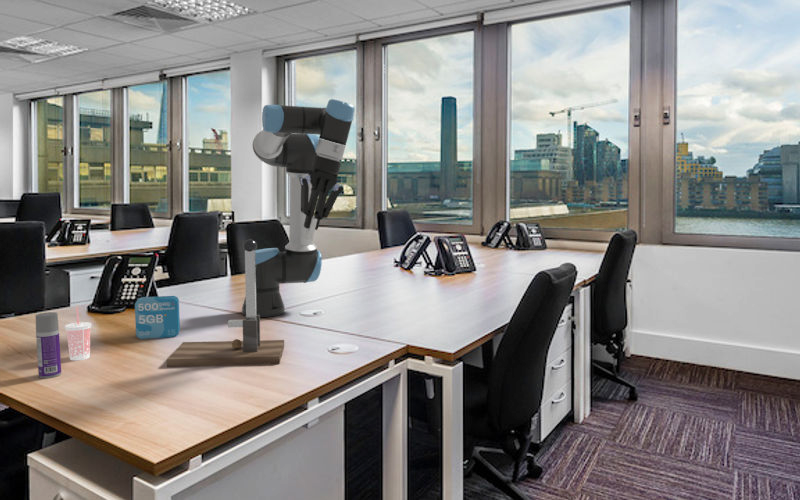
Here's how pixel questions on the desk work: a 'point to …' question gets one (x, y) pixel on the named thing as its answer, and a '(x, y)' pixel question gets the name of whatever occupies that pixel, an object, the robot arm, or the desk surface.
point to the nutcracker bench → (230, 350)
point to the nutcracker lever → (248, 283)
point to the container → (48, 345)
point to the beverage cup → (78, 339)
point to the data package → (157, 317)
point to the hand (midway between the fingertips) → (307, 239)
